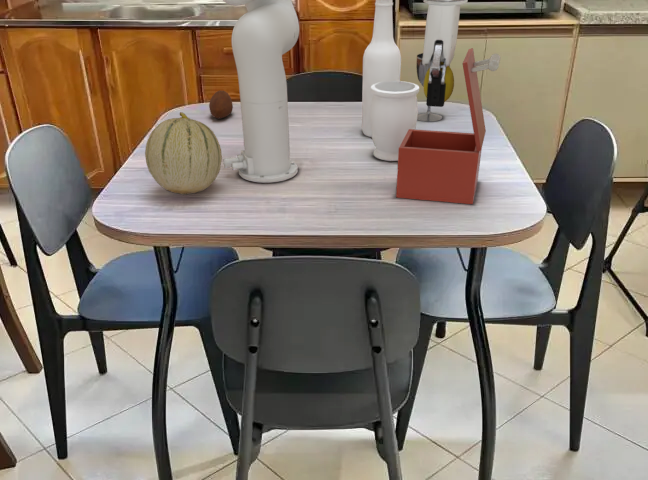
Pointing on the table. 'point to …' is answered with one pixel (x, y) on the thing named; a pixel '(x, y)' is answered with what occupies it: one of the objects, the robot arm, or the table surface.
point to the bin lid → (477, 91)
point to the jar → (392, 116)
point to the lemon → (448, 80)
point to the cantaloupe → (183, 155)
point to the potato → (220, 104)
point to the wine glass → (421, 76)
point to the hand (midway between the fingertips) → (437, 100)
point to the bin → (438, 166)
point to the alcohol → (379, 59)
